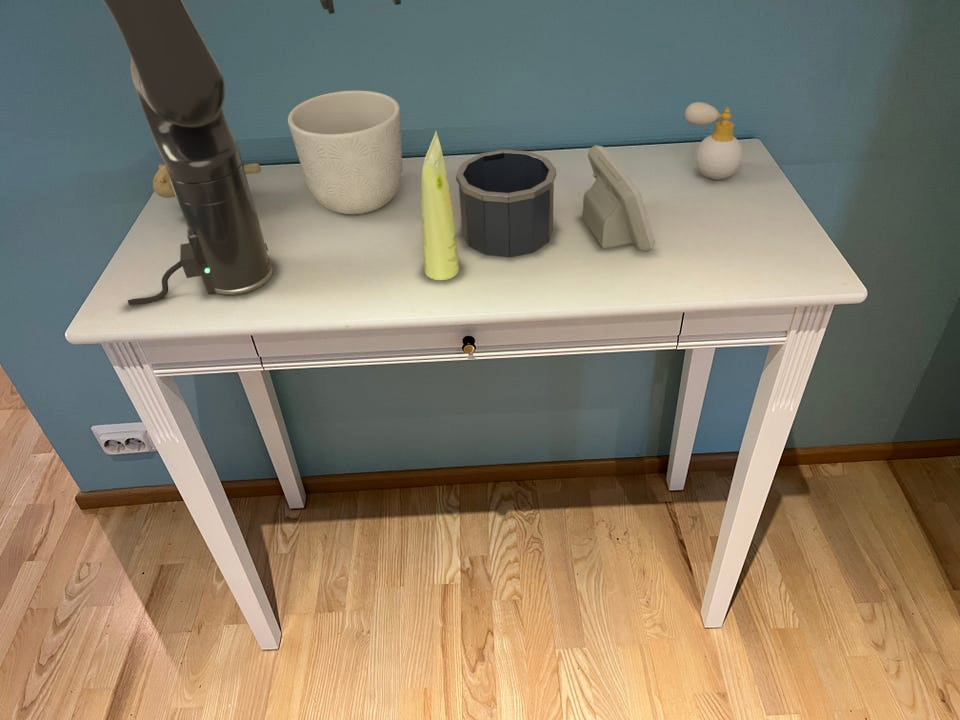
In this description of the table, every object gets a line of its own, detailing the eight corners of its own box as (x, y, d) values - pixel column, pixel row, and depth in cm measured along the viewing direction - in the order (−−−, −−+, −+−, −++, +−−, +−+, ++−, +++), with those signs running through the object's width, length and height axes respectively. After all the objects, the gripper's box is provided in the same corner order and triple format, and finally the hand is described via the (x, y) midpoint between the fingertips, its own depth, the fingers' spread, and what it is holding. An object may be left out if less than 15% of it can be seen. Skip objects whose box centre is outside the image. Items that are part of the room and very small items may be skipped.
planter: (384, 234, 113) (370, 140, 103) (288, 219, 118) (266, 129, 108) (425, 182, 125) (416, 94, 115) (336, 171, 130) (320, 86, 120)
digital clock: (656, 256, 105) (665, 189, 98) (593, 260, 105) (597, 193, 98) (634, 200, 117) (641, 137, 110) (578, 204, 117) (581, 141, 110)
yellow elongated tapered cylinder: (468, 275, 104) (460, 145, 91) (437, 288, 102) (424, 157, 89) (447, 257, 107) (436, 130, 95) (417, 269, 106) (402, 141, 93)
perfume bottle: (745, 184, 120) (760, 113, 112) (686, 189, 119) (697, 117, 112) (730, 163, 125) (743, 94, 117) (674, 168, 125) (683, 98, 117)
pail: (476, 265, 106) (472, 203, 99) (451, 218, 116) (446, 159, 109) (567, 247, 108) (569, 185, 101) (535, 202, 118) (535, 143, 112)
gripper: (397, -155, 87) (412, -7, 98) (276, -144, 84) (305, 7, 95) (411, -147, 82) (424, 8, 92) (282, -135, 79) (311, 23, 90)
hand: (364, 7), depth 94 cm, fingers open, 8 cm apart
